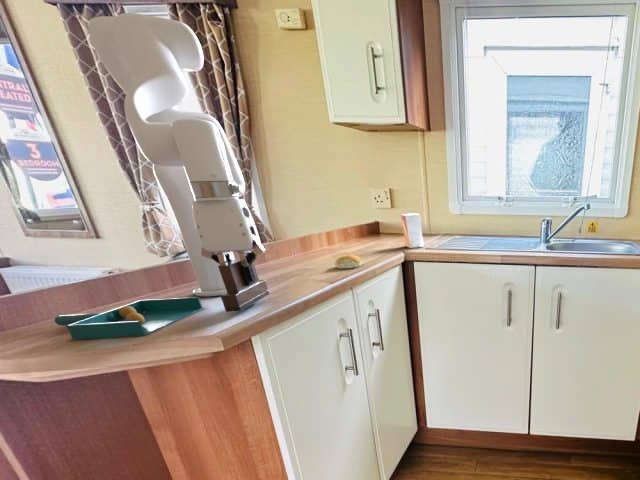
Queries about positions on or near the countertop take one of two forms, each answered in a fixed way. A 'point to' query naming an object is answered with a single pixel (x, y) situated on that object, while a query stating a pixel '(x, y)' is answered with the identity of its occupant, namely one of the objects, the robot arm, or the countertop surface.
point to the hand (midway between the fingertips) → (243, 284)
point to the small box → (412, 230)
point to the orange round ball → (126, 311)
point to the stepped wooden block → (240, 287)
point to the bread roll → (348, 261)
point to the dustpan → (116, 326)
